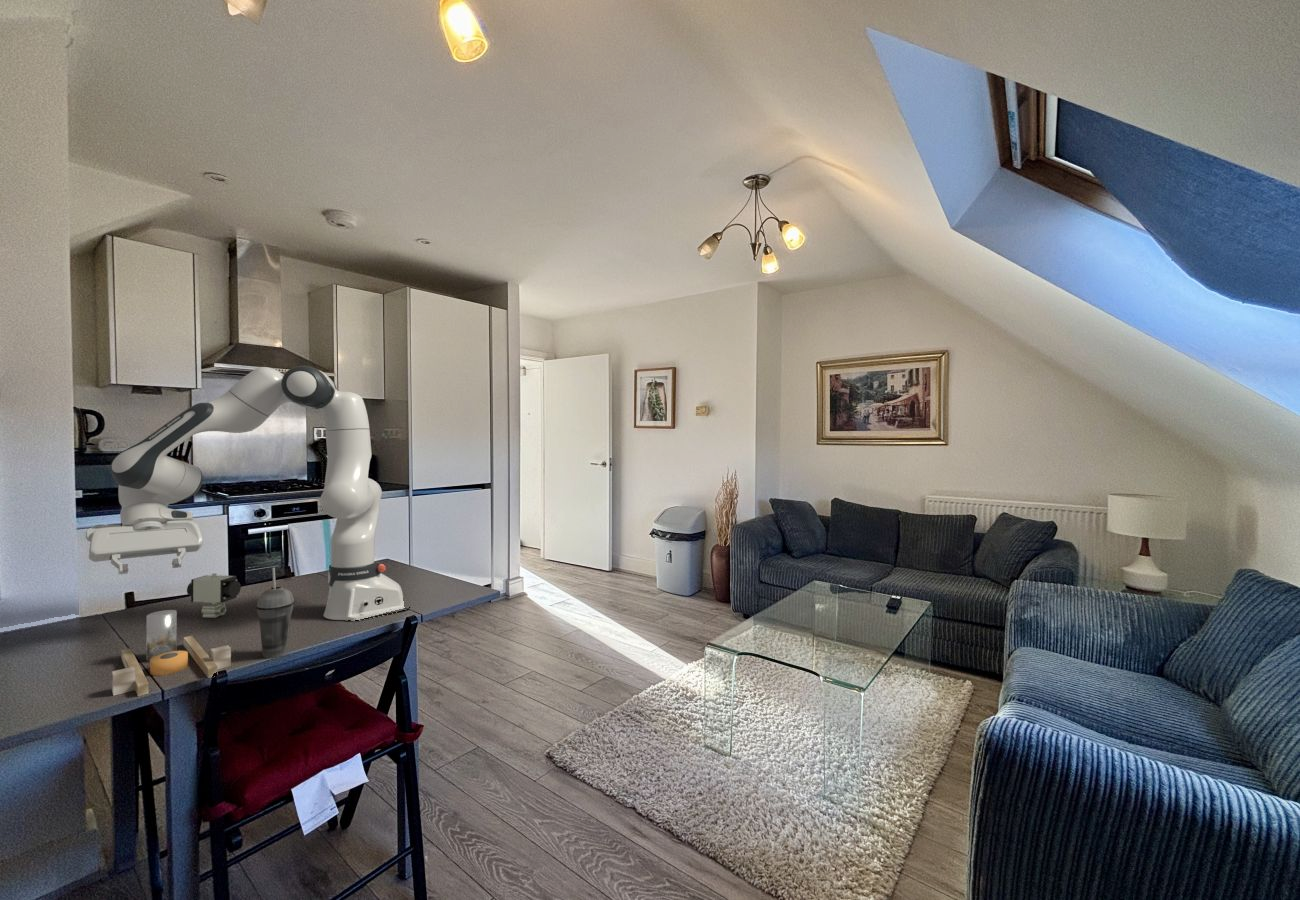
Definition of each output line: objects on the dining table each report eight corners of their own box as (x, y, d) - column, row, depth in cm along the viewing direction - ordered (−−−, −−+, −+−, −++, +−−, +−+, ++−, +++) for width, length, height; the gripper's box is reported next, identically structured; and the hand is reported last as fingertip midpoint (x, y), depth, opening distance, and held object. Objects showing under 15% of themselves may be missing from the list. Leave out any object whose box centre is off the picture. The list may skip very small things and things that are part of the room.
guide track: (207, 640, 128) (207, 624, 128) (235, 670, 112) (235, 652, 112) (102, 663, 115) (102, 645, 115) (115, 702, 98) (115, 681, 98)
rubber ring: (189, 661, 116) (189, 647, 116) (185, 671, 112) (185, 657, 112) (152, 668, 113) (152, 653, 113) (147, 678, 108) (147, 663, 108)
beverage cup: (264, 663, 116) (264, 573, 116) (249, 655, 120) (250, 569, 120) (300, 652, 122) (300, 567, 122) (285, 645, 126) (286, 563, 126)
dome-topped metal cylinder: (178, 651, 122) (178, 608, 122) (174, 658, 118) (174, 614, 118) (148, 655, 119) (148, 612, 119) (144, 663, 115) (144, 618, 115)
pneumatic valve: (227, 619, 143) (227, 576, 143) (185, 618, 144) (186, 575, 144) (243, 613, 149) (243, 571, 149) (203, 612, 149) (203, 570, 149)
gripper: (86, 518, 122) (89, 569, 116) (200, 511, 138) (207, 556, 132) (84, 533, 125) (86, 583, 119) (195, 525, 141) (202, 569, 135)
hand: (151, 569), depth 126 cm, fingers open, 8 cm apart
